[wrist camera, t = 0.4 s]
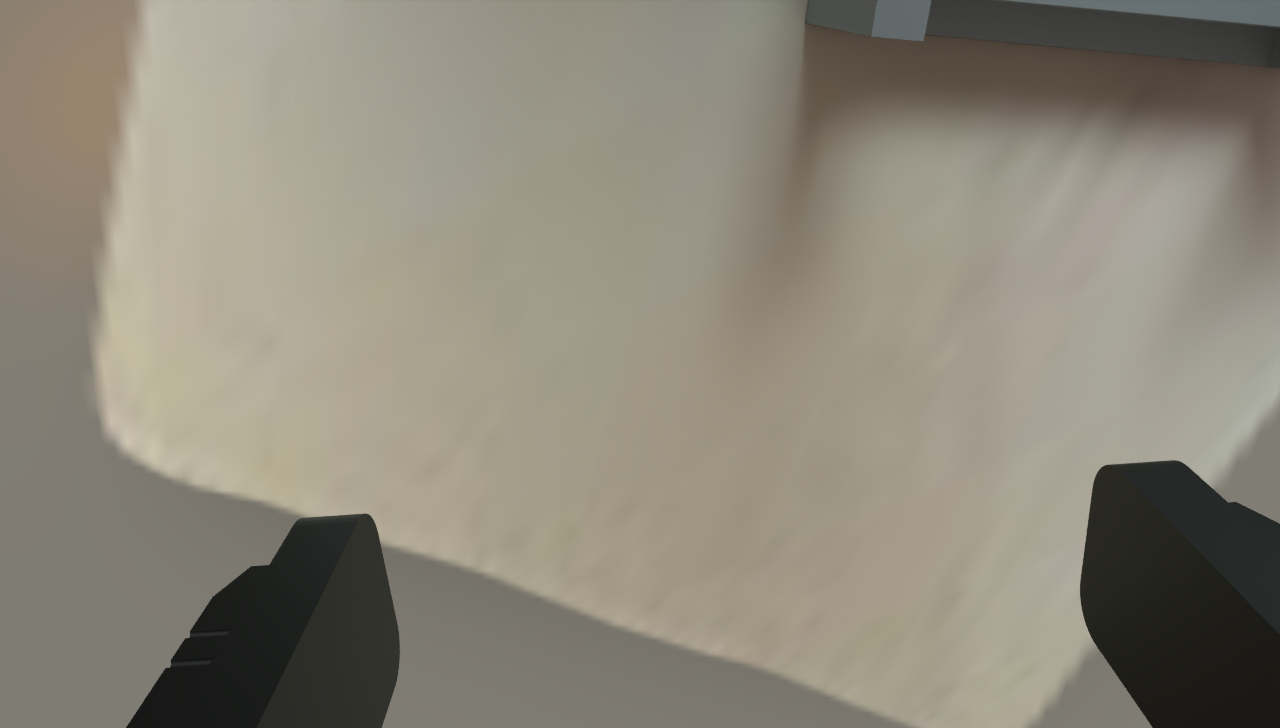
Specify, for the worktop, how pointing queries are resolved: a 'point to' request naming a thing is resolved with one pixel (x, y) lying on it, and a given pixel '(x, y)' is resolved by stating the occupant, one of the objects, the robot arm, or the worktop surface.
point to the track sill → (1076, 24)
